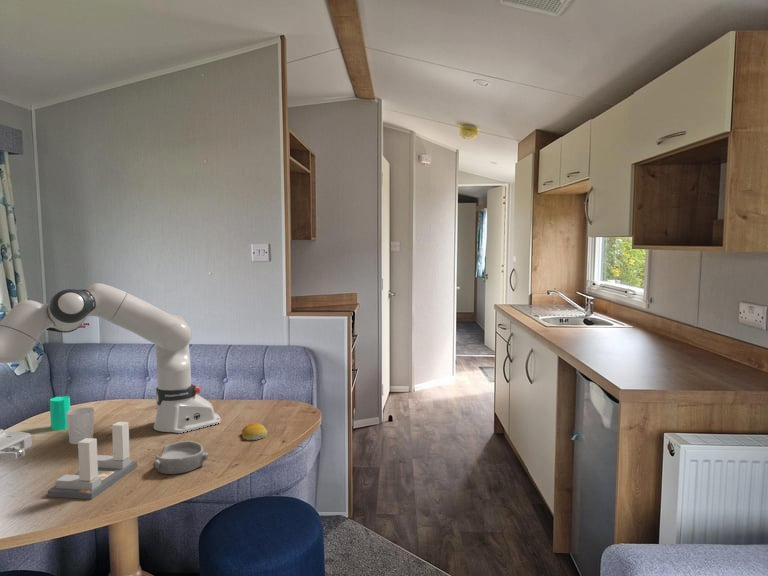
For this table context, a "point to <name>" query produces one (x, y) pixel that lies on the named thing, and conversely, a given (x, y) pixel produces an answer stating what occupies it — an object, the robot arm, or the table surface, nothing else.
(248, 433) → the bread roll
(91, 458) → the front knob
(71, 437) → the white cup
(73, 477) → the switch box
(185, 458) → the dish
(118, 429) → the rear knob
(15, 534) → the table surface
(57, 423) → the candle
